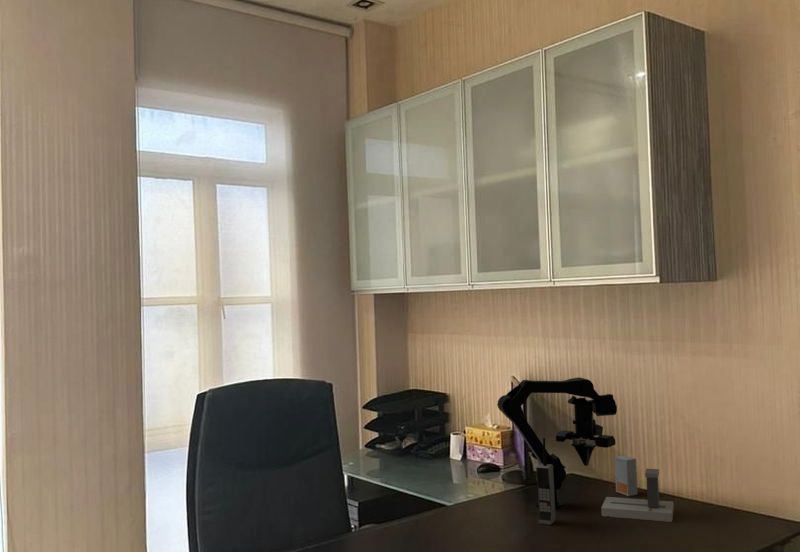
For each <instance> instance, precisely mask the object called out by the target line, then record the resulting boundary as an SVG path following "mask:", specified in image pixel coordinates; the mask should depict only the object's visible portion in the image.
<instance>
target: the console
mask: <svg viewBox="0 0 800 552" xmlns="http://www.w3.org/2000/svg"><path fill="white" fill-rule="evenodd" d="M600 509H601V510H600V511H601V516H602V517H607V516H609V517H610V518H620V519H621V518H623V519H630V518H631V519H634V520H642V521H643V520H644V521H657V522H667V523H669V522H670V523H672V522H673V519H674V510H675V509H674V501H671V500H670V501H668V500H667V501H666V500H659V508H655V507H648V499H642V498H641V499H640V498H639V499H638V498H629V497H627V498H625V497H614V496H613V497H611V496H606V497H605V499H604V501H603V503H602V506H601V507H600ZM609 517H608V518H609Z"/></svg>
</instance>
